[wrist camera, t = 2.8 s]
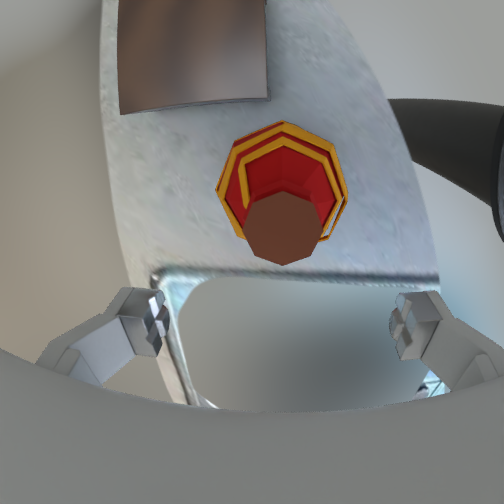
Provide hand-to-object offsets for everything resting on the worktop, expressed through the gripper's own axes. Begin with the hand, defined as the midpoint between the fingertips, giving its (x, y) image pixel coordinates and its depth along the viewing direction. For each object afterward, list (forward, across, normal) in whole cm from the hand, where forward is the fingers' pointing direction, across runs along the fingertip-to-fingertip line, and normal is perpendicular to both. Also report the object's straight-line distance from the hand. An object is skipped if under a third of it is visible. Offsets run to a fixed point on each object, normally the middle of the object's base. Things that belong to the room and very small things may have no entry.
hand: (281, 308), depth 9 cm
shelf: (+21, +7, -13) cm, 26 cm away
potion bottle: (+21, 0, 0) cm, 21 cm away
